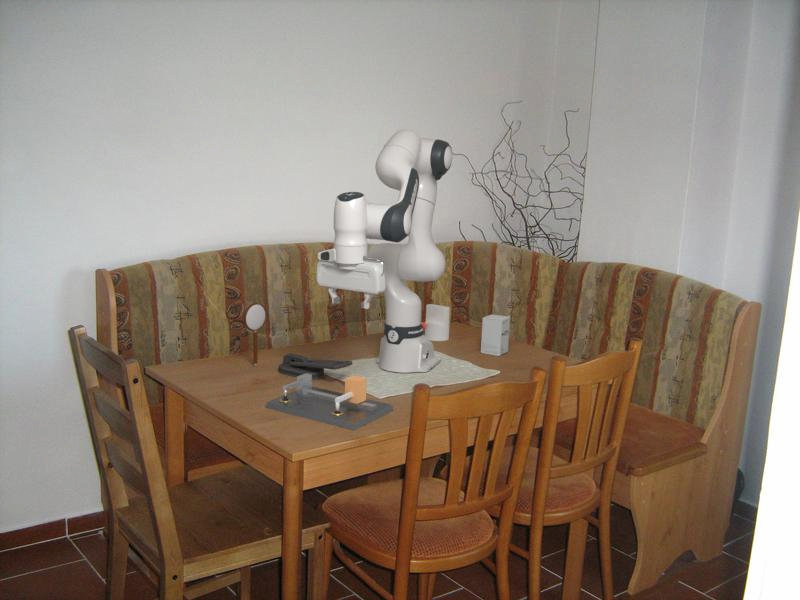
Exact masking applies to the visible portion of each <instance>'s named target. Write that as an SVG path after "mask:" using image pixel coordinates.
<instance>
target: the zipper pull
mask: <svg viewBox="0 0 800 600" xmlns="http://www.w3.org/2000/svg"><path fill="white" fill-rule="evenodd" d="M352 365H353V360H329V359H311V358H310V359H309V358H308V357H307V356H304V355H300V354H296V353H292V352H290V353H286V354H285V355H283V358H282V363H280V364H279V365H278V373H280V374H281V375H283V376H288V377H292V378H297V376H300V375H303V374H305V373H307V374H312V381H313V380H320V379H323V377H324V376H325V369H326V370H334V371H335V370H339V369H340V370H341V369H344V368H347V367H350V366H352Z"/></svg>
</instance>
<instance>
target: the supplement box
mask: <svg viewBox="0 0 800 600" xmlns="http://www.w3.org/2000/svg"><path fill="white" fill-rule="evenodd" d="M481 323H482V325H481V343H480V353H481V354H485V355H491V356H496V357H500V356H502V355H504V354H507V353H508V352H509V344H510V342H509V339H510V328H511V327H510V323H511V317H510V316H506V315H501V314H489V315H486V316H484V317H482V322H481Z"/></svg>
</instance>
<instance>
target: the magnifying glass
mask: <svg viewBox="0 0 800 600" xmlns="http://www.w3.org/2000/svg"><path fill="white" fill-rule="evenodd" d="M266 320H267V311H266V308H265V307H264V305H262V304H261V303H258V302H255V303H251V304H250V305H249V306H248V307H247V308H246V309H245V311H244V315H243V322H244V326H245V327H246V329H248V330H249V331H253V340H252V341H253V344H252V346H253V347H252V348H253V365H254V366H255V367H257V366H258V365H257V364H258V330H260V329H261V328H262V327H264V325H265V323H266Z"/></svg>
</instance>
